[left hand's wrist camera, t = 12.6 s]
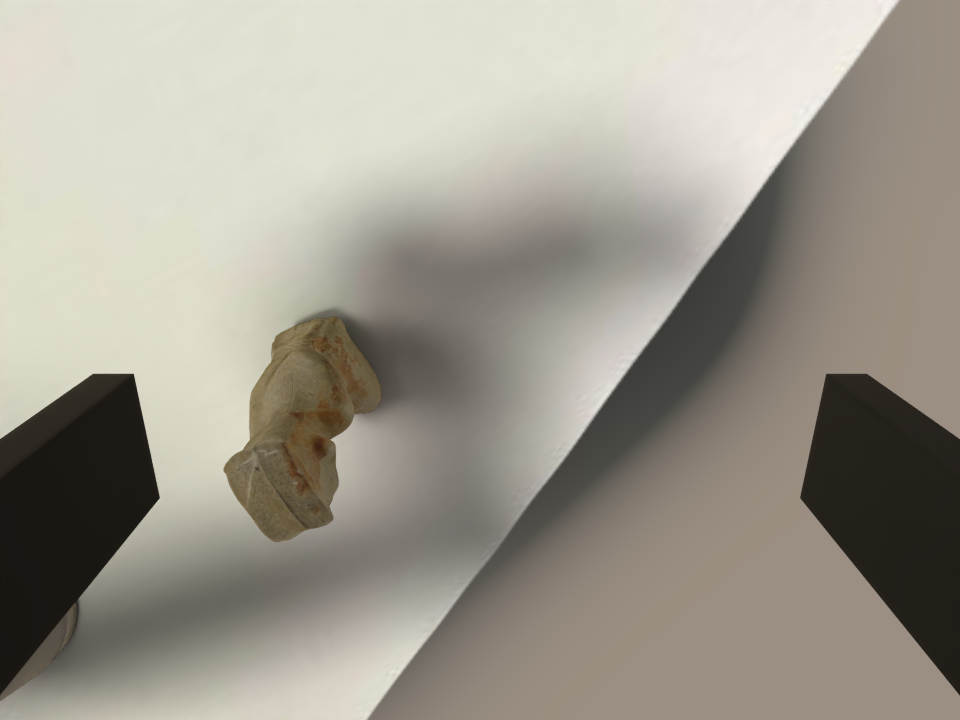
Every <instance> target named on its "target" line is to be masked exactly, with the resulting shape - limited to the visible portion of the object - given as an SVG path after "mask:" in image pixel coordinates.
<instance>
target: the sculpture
mask: <svg viewBox="0 0 960 720" xmlns="http://www.w3.org/2000/svg"><path fill="white" fill-rule="evenodd" d="M271 356H272V361H271V363H270V364H269V365H268V367H267V368H266V369H265V371H264V373H263V374H262V376H261V377H260V379H259V380H258V382H257V383H256V385H255V387H254V388H253V390H252V392H251V397H250V416H249V428H250V441H249V442H248V443H247V445H246V446H245V447H244V449H243V450H242V451H240V452H238V453H236V454H235V455H234V456H232V457H231V458H230V459H229V461H228V462H227V463H226V464H225V466H224V472H225V474H226V475H227V478H228V482H229V485H230V487H231V489H232V491H233V493H234V494H235V496H236V498H237V499H238V501H239V502H240V503H241V505H242V506H243V507H244V508H245V510H246V511H247V512H248V513H249V515H250V516H251V517H252V519H253V520H254V521H255V523H256V524H257V526H258V527H259V529H260V530H261V531H262V532H263V533H264V534H265V535H266V536H267V537H268V538H270V539H271V540H273V541H274V542H280V541H286V540H290V539H292V538H294V537H295V536H297V535H298V534H300V533H301V532H303V531H305V530H308V529H313V528H318V527H321V526H325V525H327V524H328V523H330V522H331V521H332V520H333V514H332V512H331V509H330V507H329V505H330V503H331V501H332V499H333V495H334V493H335V492H336V490H337V488H338V485H339V480H338V474H337V469H336V447H335V443H334V442H333V441H331V440H330V439H332V438H333V437H335V436H337V435H339V434H340V433H342V432H343V431H345V430H346V429H347V428H348V427H349V426H350V424H351V422H352V420H353V417H354V414H365V413H368V412H370V411H372V410H374V409H375V408H376V407H377V406H378V405H379V403H380V401H381V394H382V392H381V386H380V383H379V380H378V378H377V376H376V374H375V372H374V371H373V369H372V368H371V366H370V364H369V363H368V362H367V360H366V359H365V357H364V356H363V355H362V353H361V352H360V351H359V349H358V348H357V347H356V346H355V344H354V343H353V341H352V340H351V339H350V337H349V335H348V333H347V331H346V327H345V325H344V323H343V322H342V321H341V320H340V319H339V318H338V317H335V316H334V317H330V318H326V319H324V318H317V319H313V320H310V321H307V322H304V323H301V324H299V325H296V326H294V327H292V328H290V329H288V330H286V331H284V332H282V333H280V334H278V335H277V336H276V337H275V341H274V342H273V344H272V352H271Z"/></svg>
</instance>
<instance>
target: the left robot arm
mask: <svg viewBox="0 0 960 720" xmlns="http://www.w3.org/2000/svg"><path fill="white" fill-rule="evenodd" d="M159 498H160V497H159V492H158V487H157V482H156V478H155V473H154V468H153V463H152V459H151V454H150V449H149V444H148V440H147V435H146V430H145V425H144V421H143V416H142V411H141V406H140V402H139V397H138V392H137V387H136V383H135V378H134V374H92V375H91V376H89V377H88V378H87V379H85V380H84V381H82V382H81V383H80V384H78V385H77V386H75V387H74V388H72V389H71V390H70V391H68V392H67V393H65V394H64V395H62V396H61V397H60V398H58V399H57V400H55V401H54V402H52V403H51V404H50V405H48V406H47V407H45V408H44V409H43V410H41V411H40V412H38V413H37V414H35V415H34V416H33V417H31V418H30V419H28V420H27V421H25V422H24V423H23V424H21V425H20V426H18V427H17V428H15V429H14V430H13V431H11V432H10V433H8V434H7V435H6V436H4V437H3V438H1V439H0V701H1V700H2V699H4V698H5V697H7V696H8V695H10V694H11V693H12V692H14V691H15V690H17V689H18V688H19V687H21V686H22V685H24V684H25V683H27V682H28V681H29V680H31V679H32V678H34V677H35V676H36V675H38V674H39V673H40V672H41V671H42V670H43V669H44V668H45V667H46V666H47V665H48V664H50V663H51V662H52V660H53V659H54V658H55V657H56V656H57V655H58V653H59V652H60V651H61V649H62V648H63V647H64V645H65V644H66V643H67V641H68V640H69V638H70V636H71V634H72V632H73V630H74V627H75V623H76V615H77V608H76V601H77V600H78V598H79V597H80V596H81V595H82V594H83V592H84V591H85V590H86V589H87V587H88V586H89V585H90V584H91V582H92V581H93V580H94V579H95V577H96V576H97V575H98V574H99V573H100V571H101V570H102V569H103V568H104V566H105V565H106V564H107V563H108V561H109V560H110V559H111V558H112V556H113V555H114V554H115V553H116V551H117V550H118V549H119V548H120V547H121V545H122V544H123V543H124V542H125V540H126V539H127V538H128V537H129V535H130V534H131V533H132V532H133V530H134V529H135V528H136V527H137V526H138V524H139V523H140V522H141V521H142V519H143V518H144V517H145V516H146V514H147V513H148V512H149V511H150V509H151V508H152V507H153V506H154V505H155V503H156V502H157V501H158V500H159ZM800 498H801V500H802V501H803V502H804V503H805V504H806V506H807V507H808V508H809V509H810V511H811V512H812V513H813V514H814V516H815V517H816V518H817V519H818V521H819V522H820V523H821V524H822V525H823V527H824V528H825V529H826V530H827V532H828V533H829V534H830V535H831V537H832V538H833V539H834V540H835V542H836V543H837V544H838V545H839V547H840V548H841V549H842V550H843V551H844V553H845V554H846V555H847V556H848V558H849V559H850V560H851V561H852V563H853V564H854V565H855V566H856V568H857V569H858V570H859V571H860V573H861V574H862V575H863V576H864V577H865V579H866V580H867V581H868V582H869V584H870V585H871V586H872V587H873V589H874V590H875V591H876V592H877V594H878V595H879V596H880V597H881V598H882V600H883V601H884V602H885V603H886V605H887V606H888V607H889V608H890V610H891V611H892V612H893V613H894V615H895V616H896V617H897V618H898V619H899V621H900V622H901V623H902V624H903V626H904V627H905V628H906V629H907V631H908V632H909V633H910V634H911V636H912V637H913V638H914V639H915V641H916V642H917V643H918V644H919V645H920V647H921V648H922V649H923V650H924V652H925V653H926V654H927V655H928V657H929V658H930V659H931V660H932V662H933V663H934V664H935V665H936V666H937V668H938V669H939V670H940V671H941V673H942V674H943V675H944V676H945V678H946V679H947V680H948V681H949V682H950V684H951V685H952V686H953V687H954V689H955V690H956V691H957V692H958V694H959V695H960V439H959V438H957V437H956V436H954V435H953V434H952V433H950V432H949V431H947V430H946V429H945V428H943V427H942V426H940V425H939V424H937V423H936V422H934V421H933V420H932V419H930V418H929V417H927V416H926V415H925V414H923V413H922V412H920V411H919V410H917V409H916V408H915V407H913V406H912V405H910V404H909V403H907V402H906V401H905V400H903V399H902V398H900V397H899V396H897V395H896V394H895V393H893V392H892V391H890V390H889V389H888V388H886V387H885V386H883V385H882V384H880V383H879V382H878V381H876V380H875V379H873V378H872V377H871V376H869V375H868V374H826V378H825V383H824V387H823V392H822V397H821V402H820V406H819V411H818V416H817V421H816V425H815V430H814V435H813V440H812V444H811V449H810V454H809V459H808V464H807V468H806V473H805V478H804V482H803V487H802V492H801V497H800Z"/></svg>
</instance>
